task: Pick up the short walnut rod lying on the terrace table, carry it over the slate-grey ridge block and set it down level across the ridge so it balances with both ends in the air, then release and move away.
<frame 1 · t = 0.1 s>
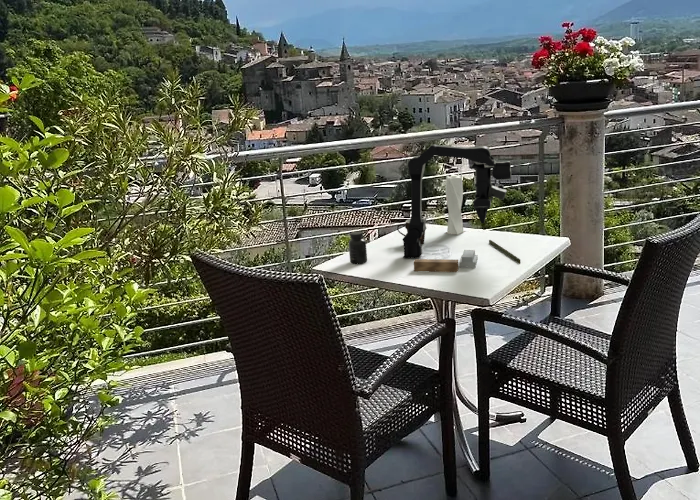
hand: (483, 220, 259), 15 cm above the table, tool pointing down, fingers open, 9 cm apart
supplement bottle: (358, 262, 267), on the table
walnut rod: (436, 271, 251), on the table
coffee mug: (413, 243, 290), on the table
rod: (503, 254, 268), on the table
ridge block: (468, 263, 256), on the table
skyscraper: (455, 234, 303), on the table
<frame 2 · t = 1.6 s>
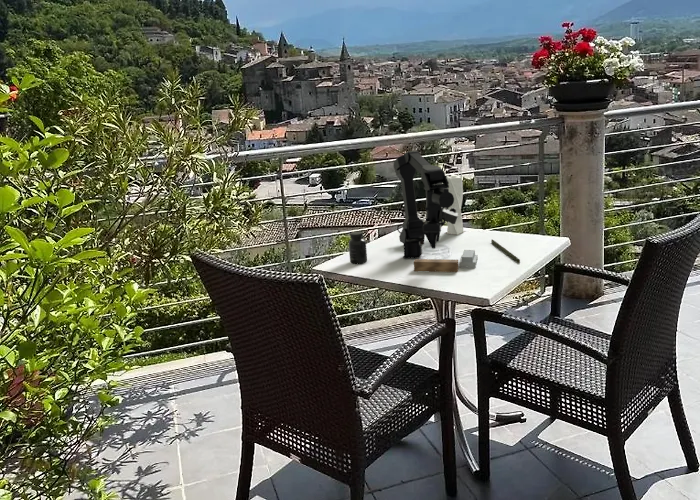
hand: (435, 244, 248), 10 cm above the table, tool pointing down, fingers open, 9 cm apart
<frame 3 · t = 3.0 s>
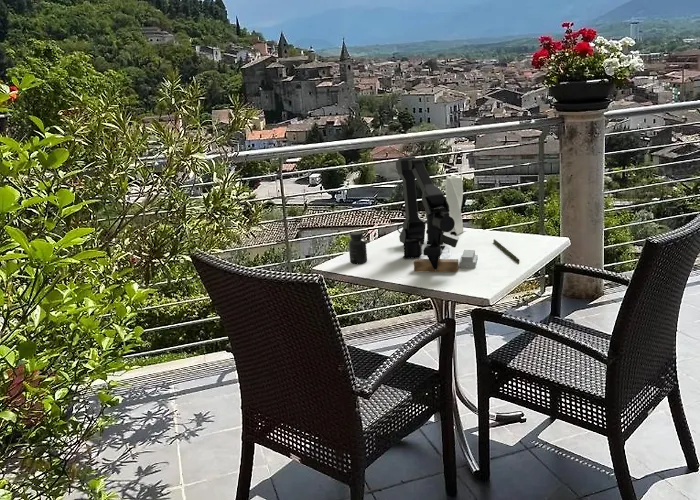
hand: (436, 267, 250), 1 cm above the table, tool pointing down, fingers closed on walnut rod, 3 cm apart
walnut rod: (436, 270, 251), on the table, touching gripper
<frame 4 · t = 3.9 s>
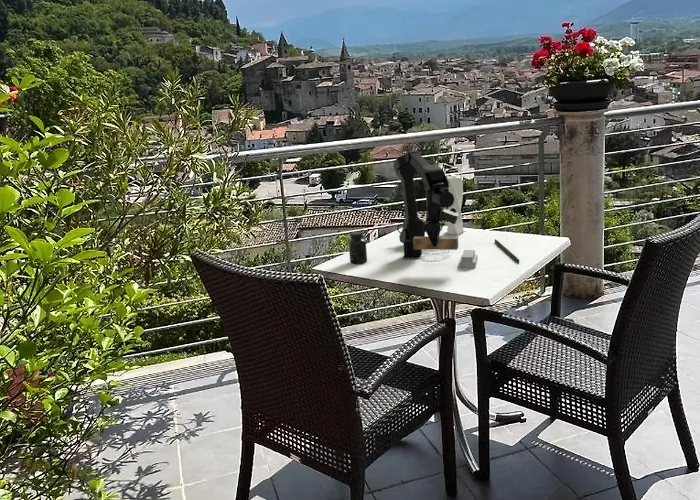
hand: (435, 245, 248), 10 cm above the table, tool pointing down, fingers closed on walnut rod, 3 cm apart
walnut rod: (435, 248, 248), point 8 cm above the table, touching gripper
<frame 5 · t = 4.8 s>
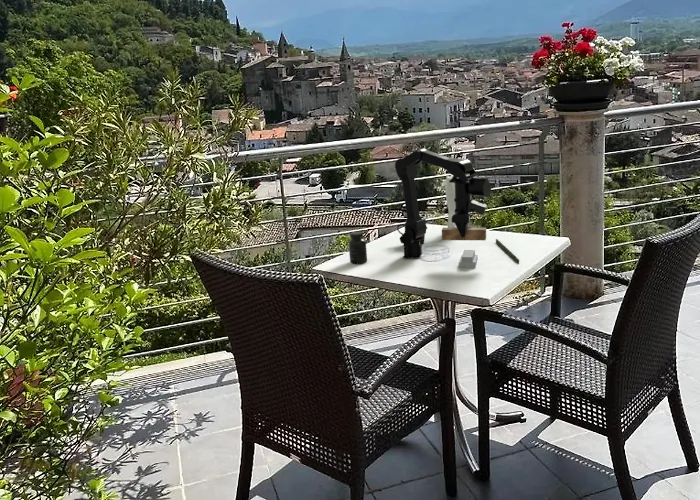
hand: (463, 236, 252), 11 cm above the table, tool pointing down, fingers closed on walnut rod, 3 cm apart
walnut rod: (464, 239, 253), point 10 cm above the table, touching gripper
when the fingers open (6 cm above the table, at t = 6.4 s): walnut rod stays where it is, resting on ridge block.
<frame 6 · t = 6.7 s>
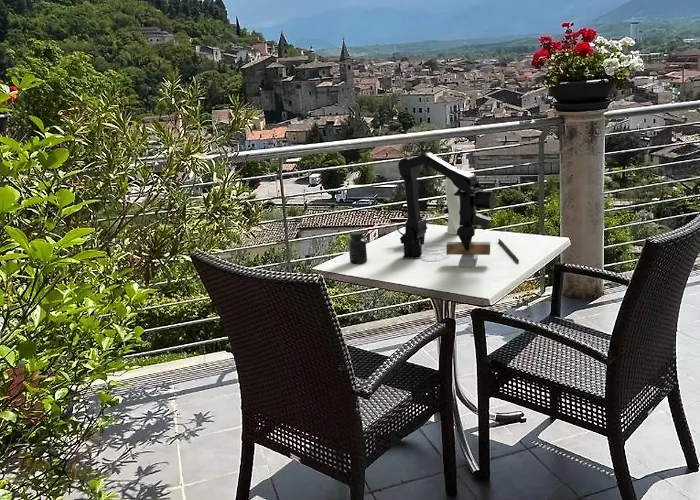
hand: (468, 248, 255), 6 cm above the table, tool pointing down, fingers open, 7 cm apart
walnut rod: (468, 253, 255), point 4 cm above the table, touching ridge block
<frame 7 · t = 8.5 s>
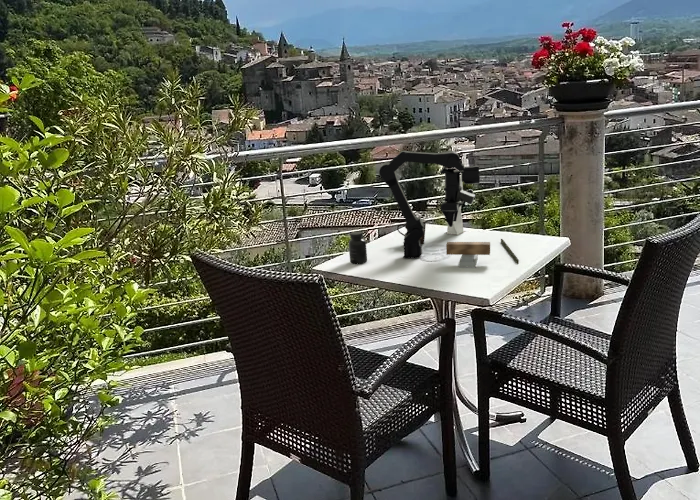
hand: (452, 223, 265), 13 cm above the table, tool pointing down, fingers open, 9 cm apart
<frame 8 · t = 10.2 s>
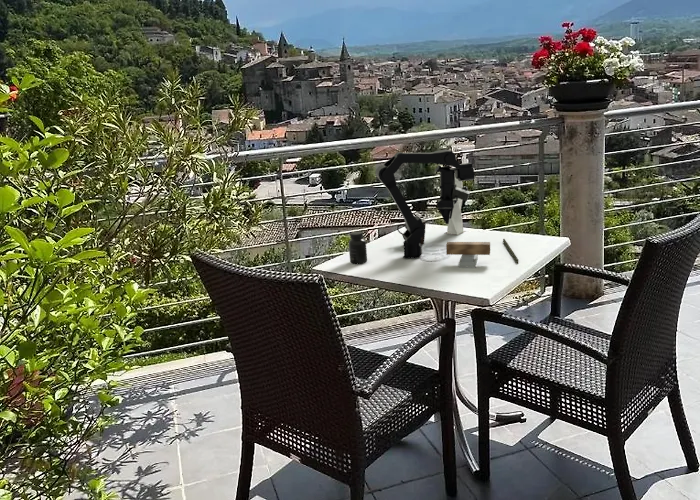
hand: (448, 221, 269), 13 cm above the table, tool pointing down, fingers open, 9 cm apart
at the end: walnut rod 0.0 cm off-centre on the ridge block, point 4.0 cm above the ridge block's base; walnut rod tilted 0°; walnut rod touching ridge block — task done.
